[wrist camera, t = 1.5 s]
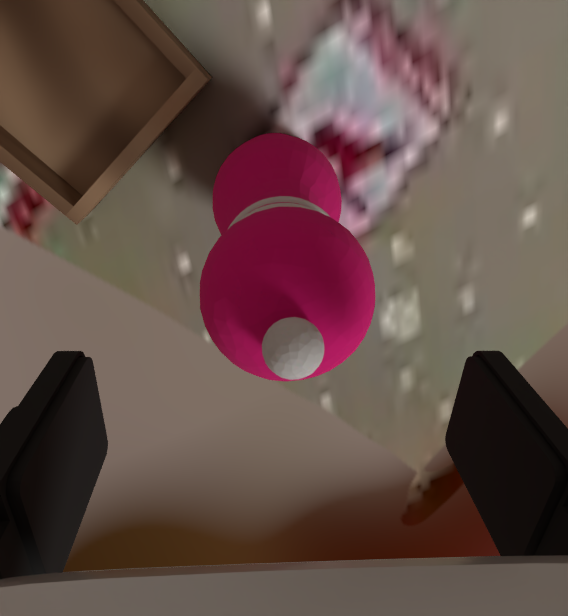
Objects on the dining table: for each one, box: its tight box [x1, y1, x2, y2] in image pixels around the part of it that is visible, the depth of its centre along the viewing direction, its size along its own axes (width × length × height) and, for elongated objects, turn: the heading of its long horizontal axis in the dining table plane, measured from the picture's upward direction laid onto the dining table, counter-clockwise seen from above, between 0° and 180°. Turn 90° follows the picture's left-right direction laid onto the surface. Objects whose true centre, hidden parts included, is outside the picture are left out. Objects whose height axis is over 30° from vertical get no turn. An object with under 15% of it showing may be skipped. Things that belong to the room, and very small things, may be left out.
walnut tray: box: [0, 0, 212, 225], centre depth 25 cm, size 12×12×3 cm
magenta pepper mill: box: [200, 133, 375, 381], centre depth 21 cm, size 7×7×20 cm
